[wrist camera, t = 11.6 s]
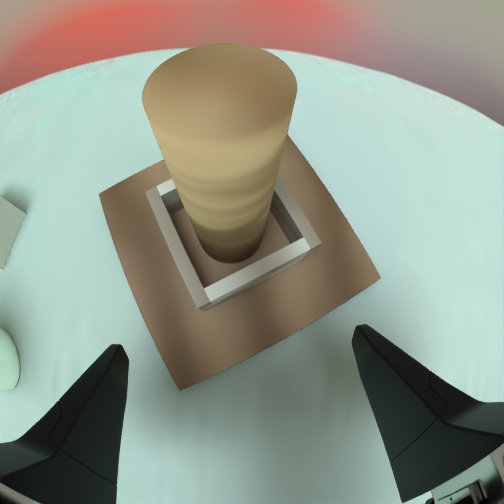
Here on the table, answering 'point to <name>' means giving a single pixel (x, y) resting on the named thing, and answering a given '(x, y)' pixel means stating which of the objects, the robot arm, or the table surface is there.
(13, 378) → the beer glass
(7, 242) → the light grey cube
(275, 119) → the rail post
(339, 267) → the cup bracket
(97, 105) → the table surface
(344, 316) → the table surface
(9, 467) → the robot arm
